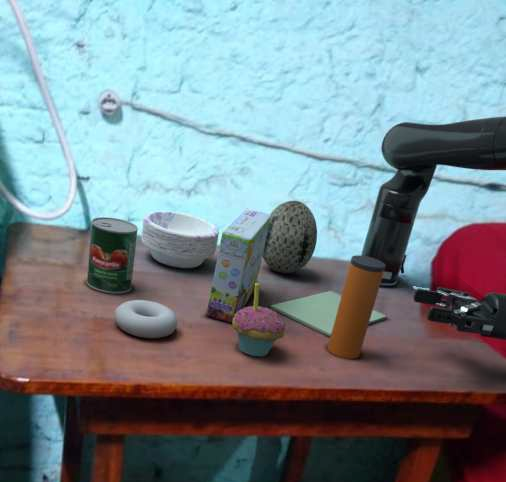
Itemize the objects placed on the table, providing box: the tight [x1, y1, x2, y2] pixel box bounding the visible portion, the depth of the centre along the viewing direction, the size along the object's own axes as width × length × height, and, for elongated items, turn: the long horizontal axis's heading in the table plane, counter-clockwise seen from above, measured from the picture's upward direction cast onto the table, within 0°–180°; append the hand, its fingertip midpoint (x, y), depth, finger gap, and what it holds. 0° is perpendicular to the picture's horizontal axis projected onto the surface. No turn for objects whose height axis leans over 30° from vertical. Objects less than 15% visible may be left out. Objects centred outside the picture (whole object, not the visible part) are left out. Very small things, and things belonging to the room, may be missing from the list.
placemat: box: [269, 290, 387, 338], centre depth 142 cm, size 20×14×1 cm
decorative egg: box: [262, 200, 318, 274], centre depth 155 cm, size 12×12×15 cm
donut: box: [114, 299, 178, 339], centre depth 118 cm, size 10×4×10 cm
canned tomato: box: [86, 216, 139, 295], centre depth 129 cm, size 8×8×11 cm
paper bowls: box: [140, 210, 220, 269], centre depth 150 cm, size 15×15×8 cm
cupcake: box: [231, 278, 286, 357], centre depth 117 cm, size 9×8×12 cm
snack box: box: [205, 207, 272, 324], centre depth 133 cm, size 21×6×15 cm, turn 168°
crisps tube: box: [327, 254, 385, 360], centre depth 123 cm, size 6×6×16 cm
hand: (421, 303), depth 124 cm, fingers open, 8 cm apart
